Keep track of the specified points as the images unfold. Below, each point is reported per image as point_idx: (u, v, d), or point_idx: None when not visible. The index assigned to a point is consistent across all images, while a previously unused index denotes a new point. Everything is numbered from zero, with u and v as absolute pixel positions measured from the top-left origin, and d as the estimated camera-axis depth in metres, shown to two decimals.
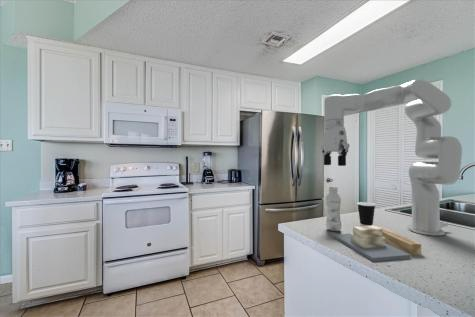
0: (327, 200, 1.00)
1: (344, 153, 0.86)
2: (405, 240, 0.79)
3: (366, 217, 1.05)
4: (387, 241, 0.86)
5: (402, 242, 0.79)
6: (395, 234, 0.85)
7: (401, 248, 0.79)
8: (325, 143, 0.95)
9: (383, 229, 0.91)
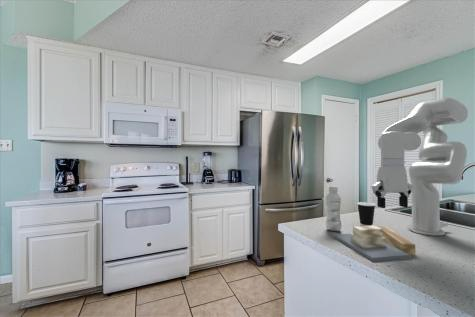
0: (327, 200, 1.00)
1: None
2: (401, 240, 0.79)
3: (366, 217, 1.05)
4: (387, 241, 0.86)
5: (397, 241, 0.79)
6: (396, 234, 0.85)
7: (396, 247, 0.80)
8: (391, 183, 0.83)
9: (387, 229, 0.91)
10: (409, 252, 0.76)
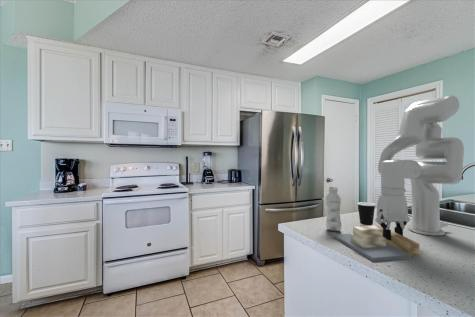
0: (327, 200, 1.00)
1: None
2: (403, 239, 0.79)
3: (366, 217, 1.05)
4: (386, 240, 0.86)
5: (400, 241, 0.78)
6: (395, 234, 0.85)
7: (399, 247, 0.79)
8: (391, 213, 0.83)
9: None
10: (413, 251, 0.75)
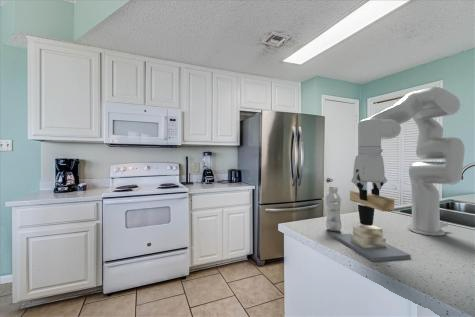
0: (327, 200, 1.00)
1: None
2: (379, 197, 0.76)
3: (366, 217, 1.05)
4: (363, 202, 0.83)
5: (376, 199, 0.76)
6: (372, 194, 0.82)
7: (375, 205, 0.76)
8: (367, 172, 0.80)
9: None
10: (388, 208, 0.73)
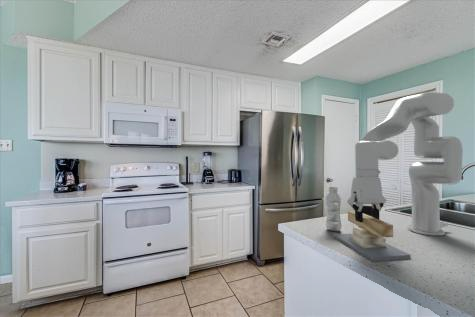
0: (327, 200, 1.00)
1: None
2: (378, 222, 0.76)
3: None
4: (361, 224, 0.83)
5: (374, 223, 0.76)
6: (370, 217, 0.82)
7: (373, 230, 0.76)
8: (364, 195, 0.80)
9: None
10: (387, 233, 0.73)
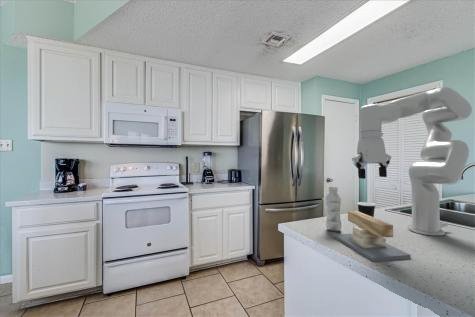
0: (327, 200, 1.00)
1: None
2: (378, 222, 0.76)
3: None
4: (361, 224, 0.83)
5: (374, 223, 0.76)
6: (370, 217, 0.82)
7: (373, 230, 0.76)
8: (369, 154, 0.87)
9: (359, 213, 0.88)
10: (387, 233, 0.73)
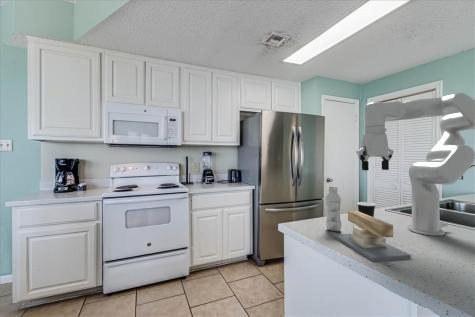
0: (327, 200, 1.00)
1: None
2: (378, 222, 0.76)
3: None
4: (361, 224, 0.83)
5: (374, 223, 0.76)
6: (370, 217, 0.82)
7: (373, 230, 0.76)
8: (373, 148, 0.93)
9: (359, 213, 0.88)
10: (387, 233, 0.73)
